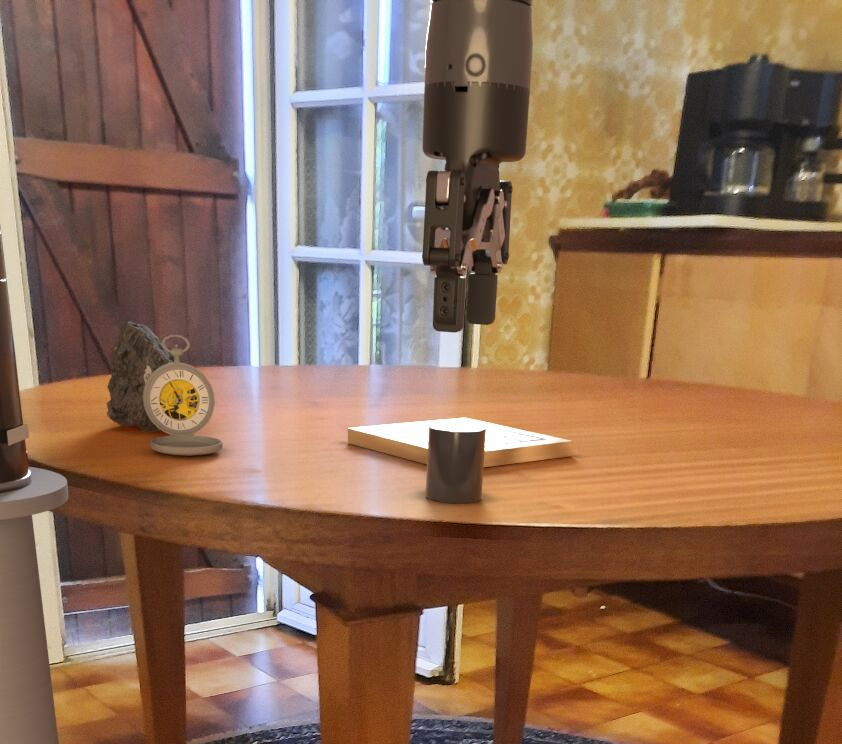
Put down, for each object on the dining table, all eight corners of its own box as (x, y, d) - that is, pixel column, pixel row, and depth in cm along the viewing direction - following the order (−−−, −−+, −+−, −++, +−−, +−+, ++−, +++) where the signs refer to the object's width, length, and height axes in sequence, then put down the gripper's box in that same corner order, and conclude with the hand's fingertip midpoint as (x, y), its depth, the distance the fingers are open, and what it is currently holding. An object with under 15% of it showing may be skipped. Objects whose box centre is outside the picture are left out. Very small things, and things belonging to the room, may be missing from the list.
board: (452, 471, 97) (453, 454, 97) (347, 443, 108) (347, 427, 107) (571, 456, 107) (573, 440, 106) (464, 431, 118) (465, 417, 117)
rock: (80, 393, 113) (113, 304, 108) (159, 413, 120) (193, 331, 115) (125, 453, 107) (162, 362, 102) (206, 471, 114) (244, 386, 109)
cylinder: (451, 506, 85) (455, 433, 82) (414, 494, 88) (416, 424, 85) (493, 499, 87) (498, 429, 85) (455, 488, 91) (459, 420, 88)
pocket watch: (184, 461, 96) (177, 343, 92) (123, 448, 100) (114, 335, 96) (249, 450, 102) (246, 339, 98) (189, 439, 106) (183, 331, 102)
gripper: (457, 95, 83) (447, 319, 90) (392, 69, 71) (386, 330, 78) (551, 95, 81) (533, 325, 88) (501, 68, 69) (485, 337, 76)
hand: (464, 327), depth 83 cm, fingers open, 8 cm apart
